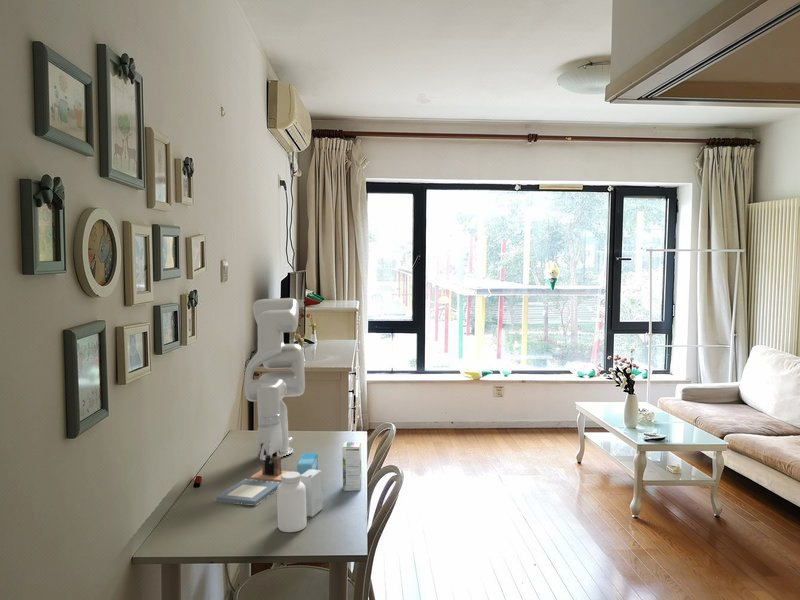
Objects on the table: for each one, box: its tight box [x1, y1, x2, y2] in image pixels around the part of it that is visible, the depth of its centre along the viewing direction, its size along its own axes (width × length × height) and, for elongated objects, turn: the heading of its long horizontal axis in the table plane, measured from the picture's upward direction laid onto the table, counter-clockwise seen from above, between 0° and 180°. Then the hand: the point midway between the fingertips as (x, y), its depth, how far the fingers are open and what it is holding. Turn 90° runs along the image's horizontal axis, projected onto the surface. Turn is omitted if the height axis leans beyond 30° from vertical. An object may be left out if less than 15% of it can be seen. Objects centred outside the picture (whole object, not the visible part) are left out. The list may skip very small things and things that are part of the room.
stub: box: [249, 456, 292, 482], centre depth 207 cm, size 8×12×8 cm, turn 72°
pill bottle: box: [276, 471, 307, 533], centre depth 169 cm, size 8×8×15 cm
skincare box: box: [300, 469, 323, 518], centre depth 178 cm, size 6×4×12 cm
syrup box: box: [341, 441, 363, 492], centre depth 197 cm, size 6×6×14 cm
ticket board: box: [215, 478, 281, 505], centre depth 194 cm, size 16×14×2 cm
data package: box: [296, 452, 319, 475], centre depth 192 cm, size 12×4×12 cm, turn 179°
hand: (271, 472), depth 208 cm, fingers closed on stub, 2 cm apart
